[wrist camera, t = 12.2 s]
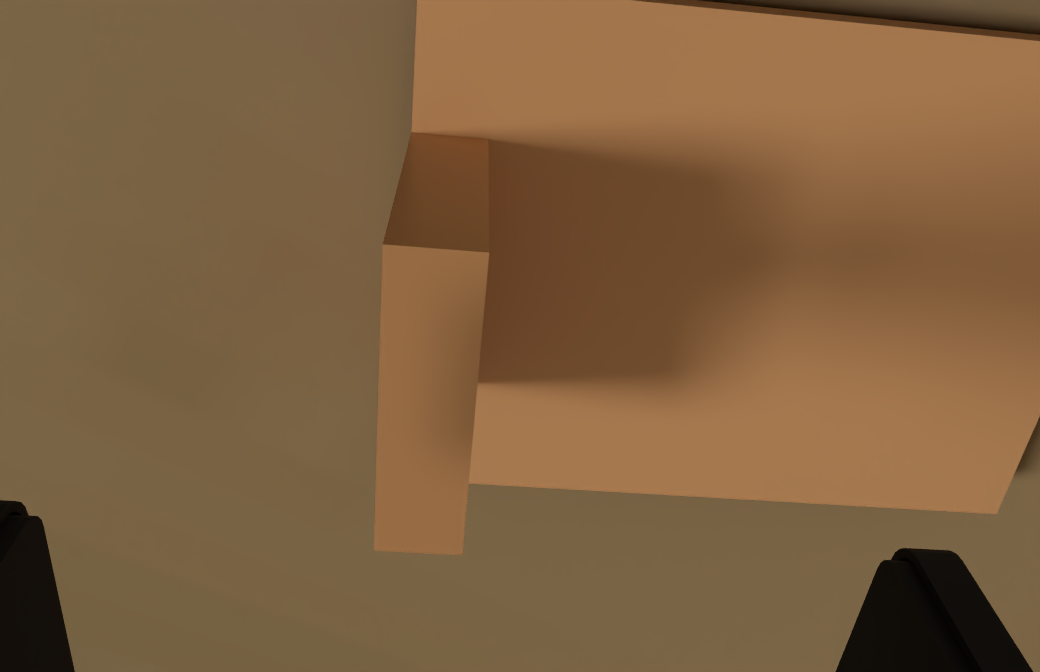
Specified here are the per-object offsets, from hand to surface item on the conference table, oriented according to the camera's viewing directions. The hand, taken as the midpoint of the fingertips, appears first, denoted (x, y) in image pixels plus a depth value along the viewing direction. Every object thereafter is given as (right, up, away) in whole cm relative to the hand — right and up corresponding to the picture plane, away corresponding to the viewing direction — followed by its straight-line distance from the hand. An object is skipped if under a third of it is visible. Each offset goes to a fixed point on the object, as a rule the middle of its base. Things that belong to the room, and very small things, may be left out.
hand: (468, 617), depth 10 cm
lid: (+6, +5, +12) cm, 15 cm away
